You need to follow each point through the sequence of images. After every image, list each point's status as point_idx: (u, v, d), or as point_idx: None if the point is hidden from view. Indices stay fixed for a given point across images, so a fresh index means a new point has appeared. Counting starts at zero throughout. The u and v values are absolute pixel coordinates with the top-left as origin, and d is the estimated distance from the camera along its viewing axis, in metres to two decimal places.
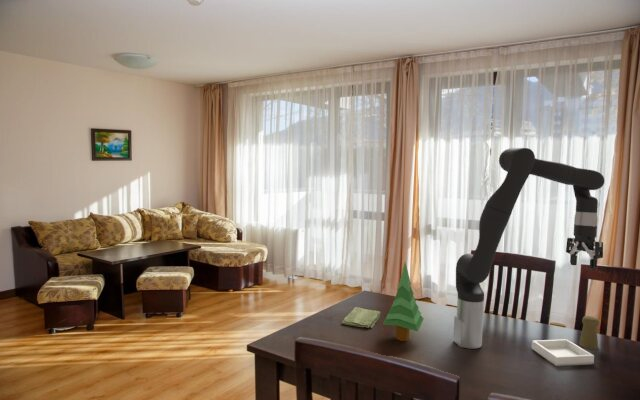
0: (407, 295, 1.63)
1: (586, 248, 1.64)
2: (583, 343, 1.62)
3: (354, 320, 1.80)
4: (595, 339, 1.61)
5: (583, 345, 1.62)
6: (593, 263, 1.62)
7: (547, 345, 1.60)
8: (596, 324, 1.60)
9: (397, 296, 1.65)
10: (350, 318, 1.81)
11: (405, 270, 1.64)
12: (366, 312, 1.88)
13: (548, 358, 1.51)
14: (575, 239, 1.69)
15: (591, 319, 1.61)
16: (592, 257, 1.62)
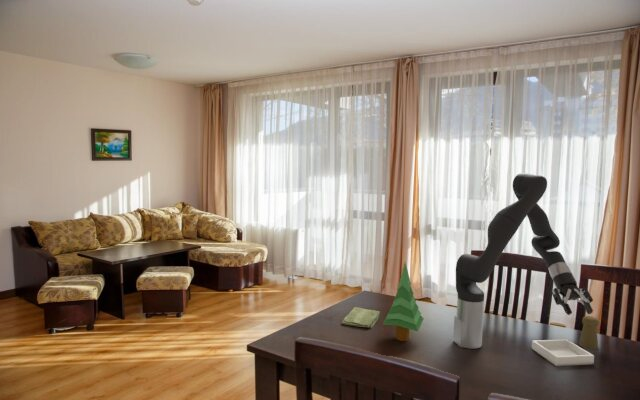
0: (407, 295, 1.63)
1: (580, 293, 1.71)
2: (583, 343, 1.62)
3: (354, 320, 1.80)
4: (595, 339, 1.61)
5: (583, 345, 1.62)
6: (590, 307, 1.69)
7: (547, 345, 1.60)
8: (596, 324, 1.60)
9: (397, 296, 1.65)
10: (350, 318, 1.81)
11: (405, 270, 1.64)
12: (366, 312, 1.88)
13: (548, 358, 1.51)
14: (563, 288, 1.73)
15: (591, 319, 1.61)
16: (588, 301, 1.70)
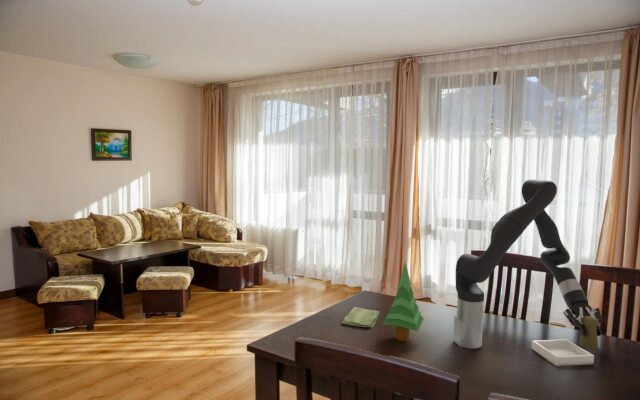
0: (407, 295, 1.63)
1: (590, 313, 1.65)
2: (583, 343, 1.62)
3: (354, 320, 1.80)
4: (595, 339, 1.61)
5: (583, 345, 1.62)
6: (599, 328, 1.63)
7: (547, 345, 1.60)
8: (596, 324, 1.60)
9: (397, 296, 1.65)
10: (350, 318, 1.81)
11: (405, 270, 1.64)
12: (365, 312, 1.89)
13: (548, 358, 1.51)
14: (573, 307, 1.67)
15: (591, 319, 1.61)
16: None
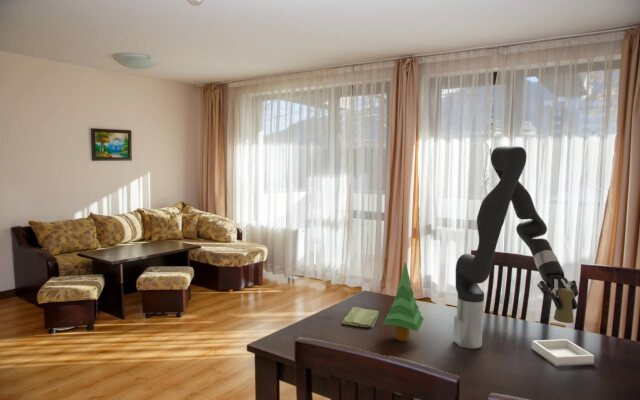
0: (407, 295, 1.63)
1: (566, 285, 1.55)
2: (557, 317, 1.52)
3: (354, 320, 1.80)
4: (570, 312, 1.51)
5: (557, 319, 1.52)
6: (575, 301, 1.52)
7: (547, 345, 1.60)
8: (571, 296, 1.50)
9: (397, 296, 1.65)
10: (350, 318, 1.81)
11: (405, 270, 1.64)
12: (365, 312, 1.89)
13: (548, 358, 1.51)
14: (548, 279, 1.57)
15: (566, 291, 1.51)
16: None
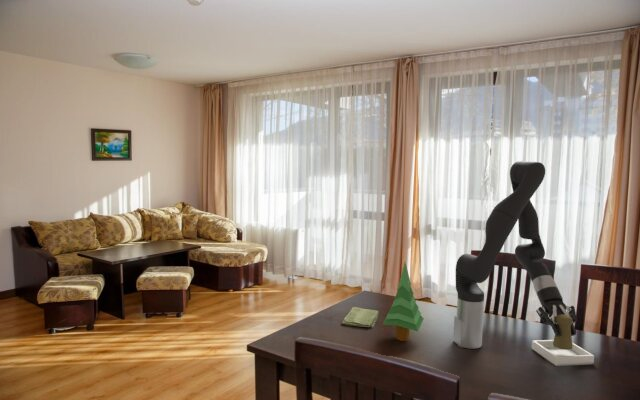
0: (407, 295, 1.63)
1: (565, 311, 1.56)
2: (556, 343, 1.53)
3: (354, 320, 1.80)
4: (569, 339, 1.52)
5: (557, 345, 1.53)
6: (574, 328, 1.53)
7: (547, 345, 1.60)
8: (570, 323, 1.51)
9: (397, 296, 1.65)
10: (350, 318, 1.81)
11: (405, 270, 1.64)
12: (365, 312, 1.89)
13: (548, 358, 1.51)
14: (546, 305, 1.58)
15: (564, 318, 1.52)
16: None
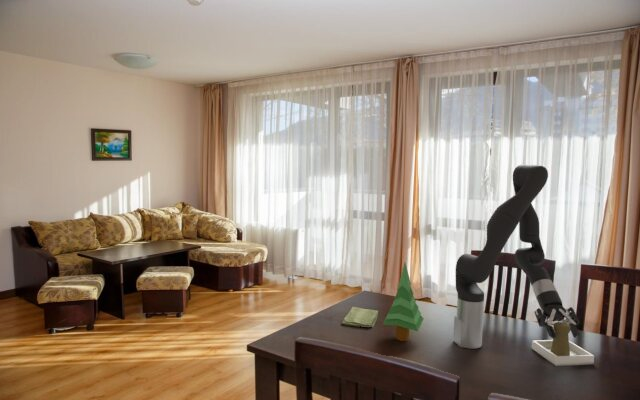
0: (407, 295, 1.63)
1: (565, 314, 1.56)
2: (554, 351, 1.54)
3: (355, 320, 1.80)
4: (566, 347, 1.52)
5: (554, 353, 1.54)
6: (576, 329, 1.54)
7: (547, 345, 1.60)
8: (567, 331, 1.52)
9: (397, 296, 1.65)
10: (350, 318, 1.81)
11: (405, 270, 1.64)
12: (365, 312, 1.89)
13: (548, 358, 1.51)
14: (546, 308, 1.58)
15: (562, 325, 1.52)
16: (574, 323, 1.55)
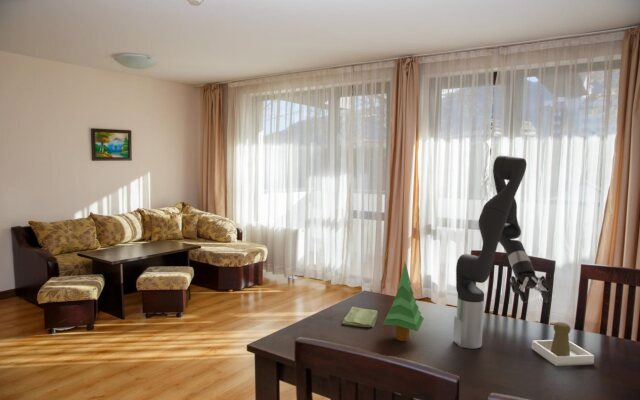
0: (407, 295, 1.63)
1: (537, 282, 1.70)
2: (554, 351, 1.54)
3: (355, 320, 1.80)
4: (567, 347, 1.52)
5: (554, 353, 1.54)
6: (547, 295, 1.68)
7: (547, 345, 1.60)
8: (568, 331, 1.52)
9: (397, 296, 1.65)
10: (350, 318, 1.81)
11: (405, 270, 1.64)
12: (364, 311, 1.89)
13: (548, 358, 1.51)
14: (520, 276, 1.72)
15: (562, 326, 1.52)
16: (545, 289, 1.69)
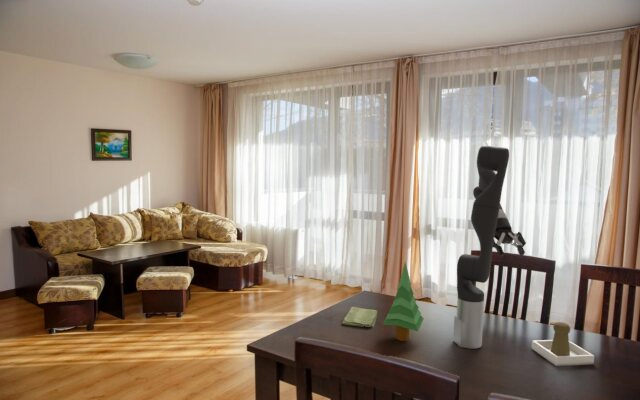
0: (407, 295, 1.63)
1: (513, 237, 1.78)
2: (554, 351, 1.54)
3: (355, 320, 1.80)
4: (567, 347, 1.52)
5: (554, 353, 1.54)
6: (522, 249, 1.76)
7: (547, 345, 1.60)
8: (567, 331, 1.52)
9: (397, 296, 1.65)
10: (350, 318, 1.81)
11: (405, 270, 1.64)
12: (364, 311, 1.89)
13: (548, 358, 1.51)
14: (497, 232, 1.79)
15: (562, 326, 1.52)
16: (521, 244, 1.77)
